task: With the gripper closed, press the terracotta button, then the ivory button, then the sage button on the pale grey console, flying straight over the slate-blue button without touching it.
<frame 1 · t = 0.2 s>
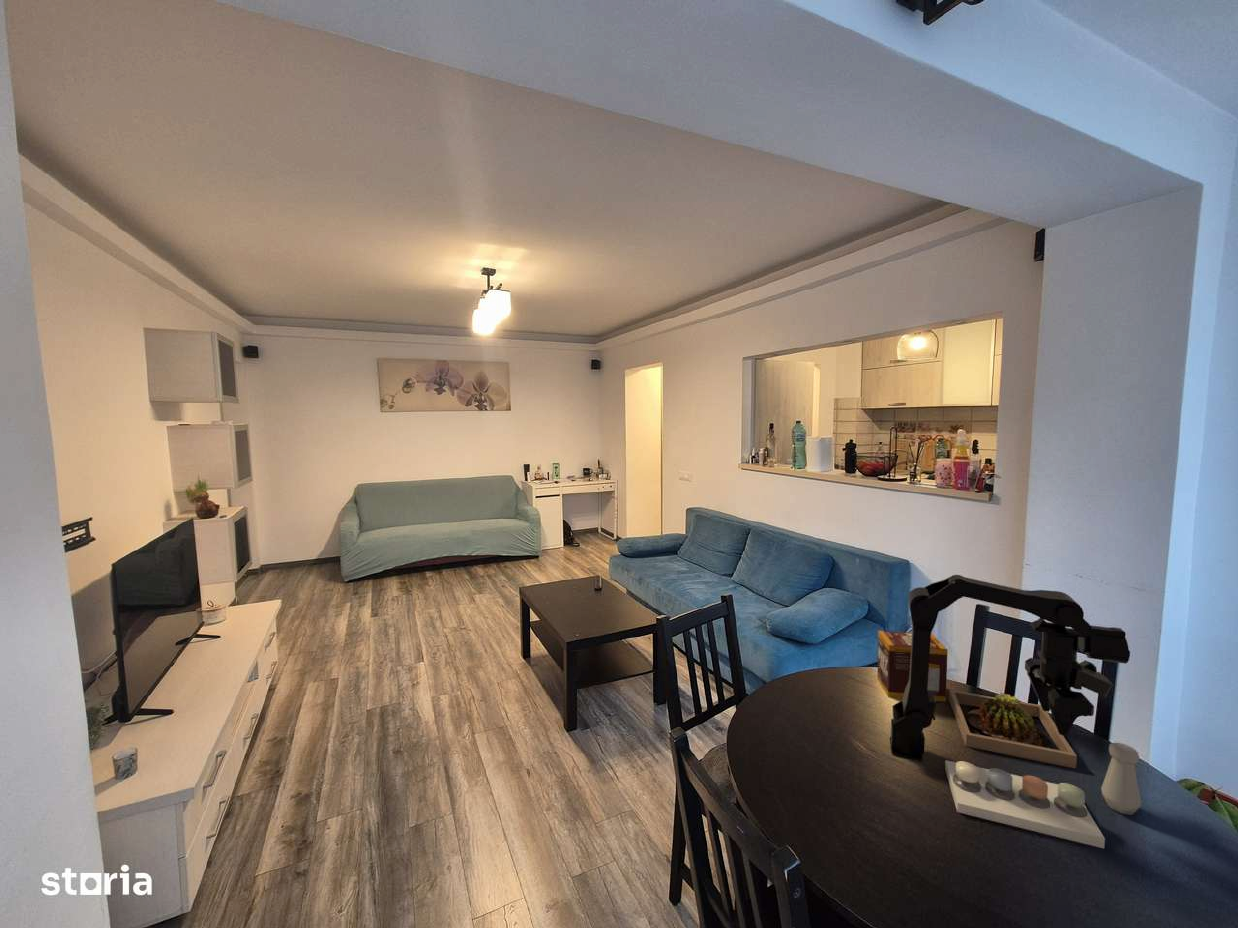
hand: (1054, 722, 109), 14 cm above the table, fingers open, 9 cm apart
planter tray: (1005, 730, 130), on the table
sage button: (1071, 794, 101), point 5 cm above the table, slide at 0.0 cm
terracotta button: (1034, 786, 104), point 5 cm above the table, slide at 0.0 cm
cactus: (1005, 731, 130), resting in planter tray
supplement box: (909, 690, 149), on the table
console: (1016, 804, 105), on the table
ivory button: (967, 771, 108), point 5 cm above the table, slide at 0.0 cm
salt shaker: (1120, 808, 104), on the table
slate button: (1000, 779, 106), point 5 cm above the table, slide at 0.0 cm
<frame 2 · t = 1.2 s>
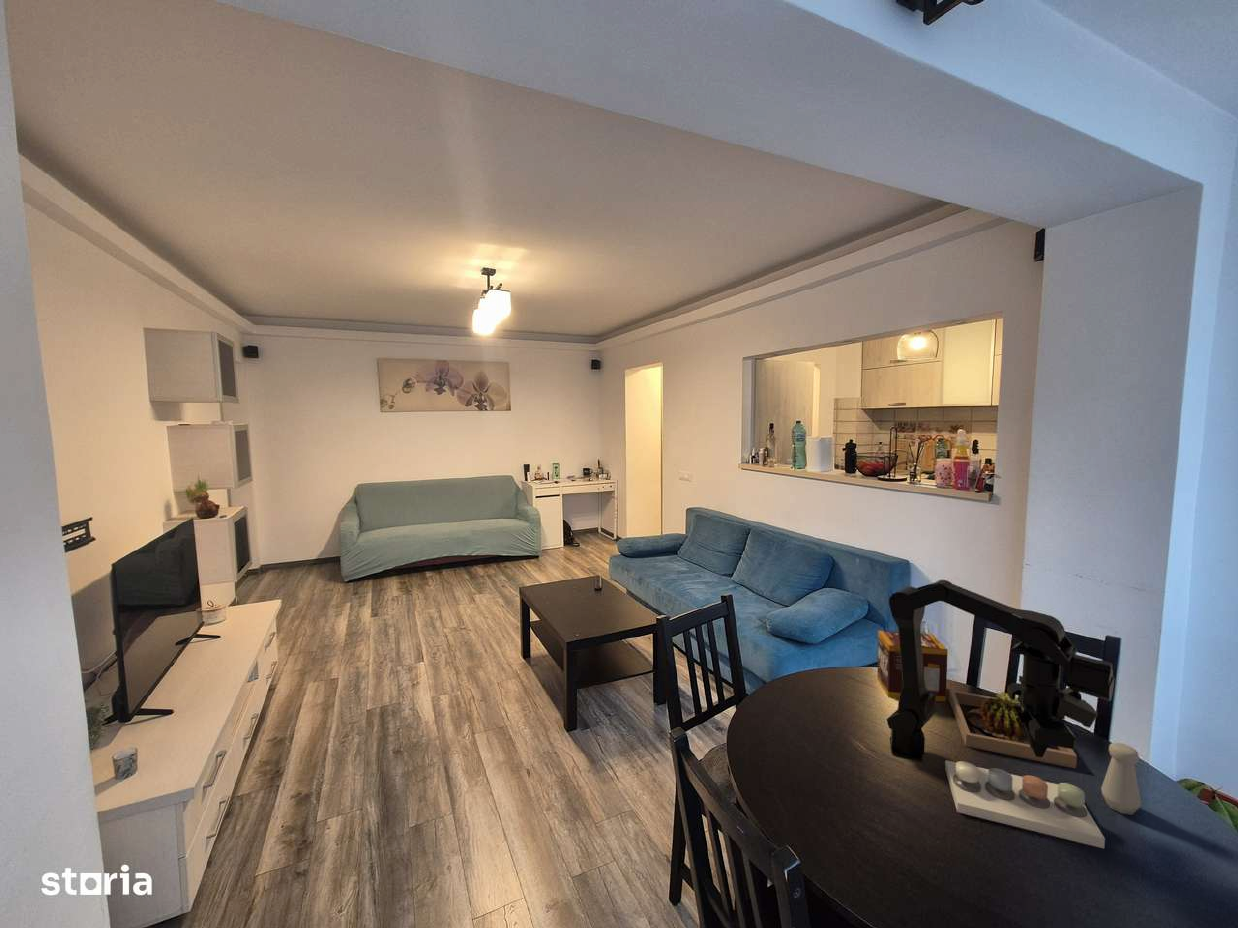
hand: (1036, 752, 103), 12 cm above the table, fingers closed
nothing on the table moved.
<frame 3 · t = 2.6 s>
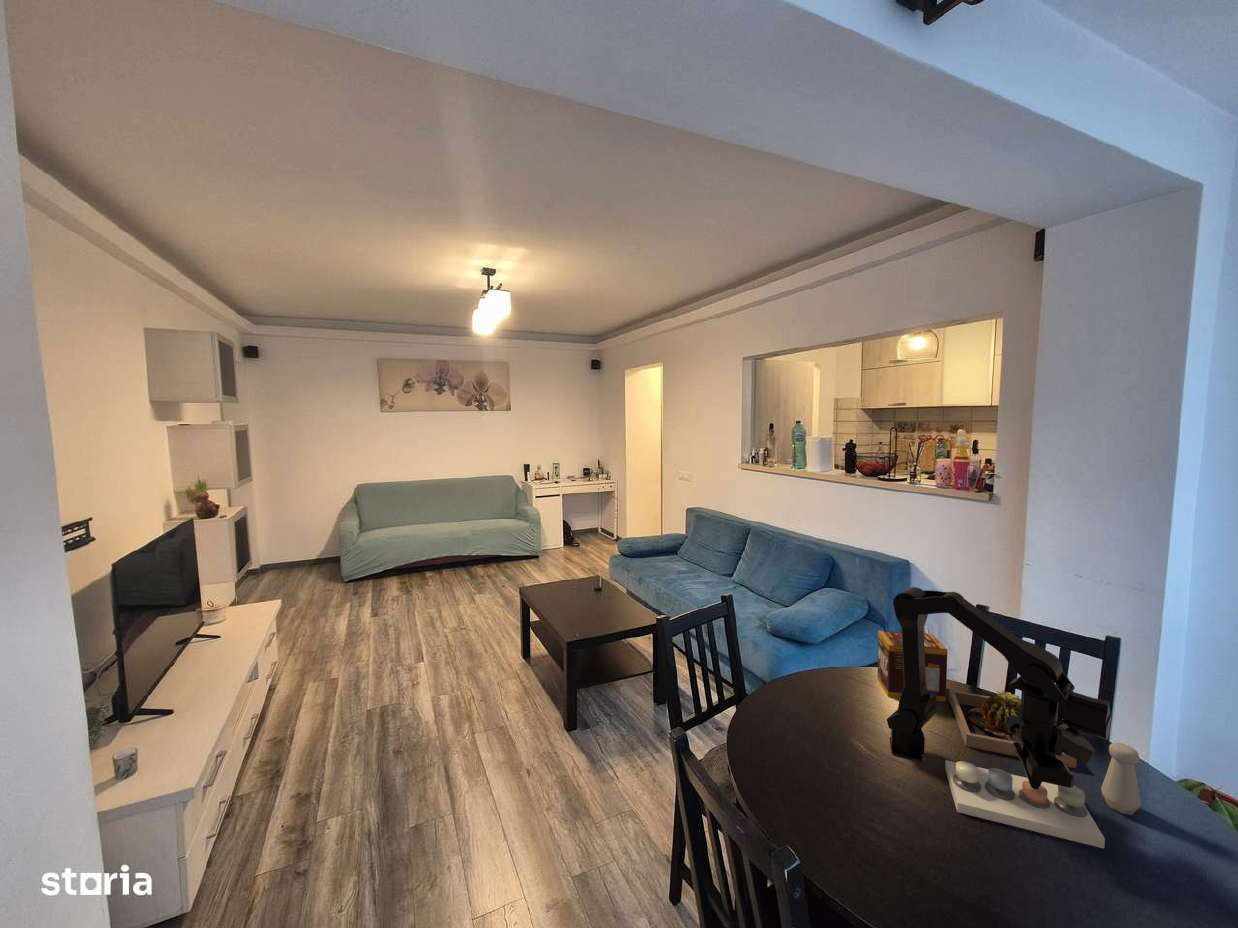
hand: (1034, 787, 104), 4 cm above the table, fingers closed, pressing on terracotta button
terracotta button: (1034, 792, 104), point 4 cm above the table, slide at -1.2 cm, touching gripper
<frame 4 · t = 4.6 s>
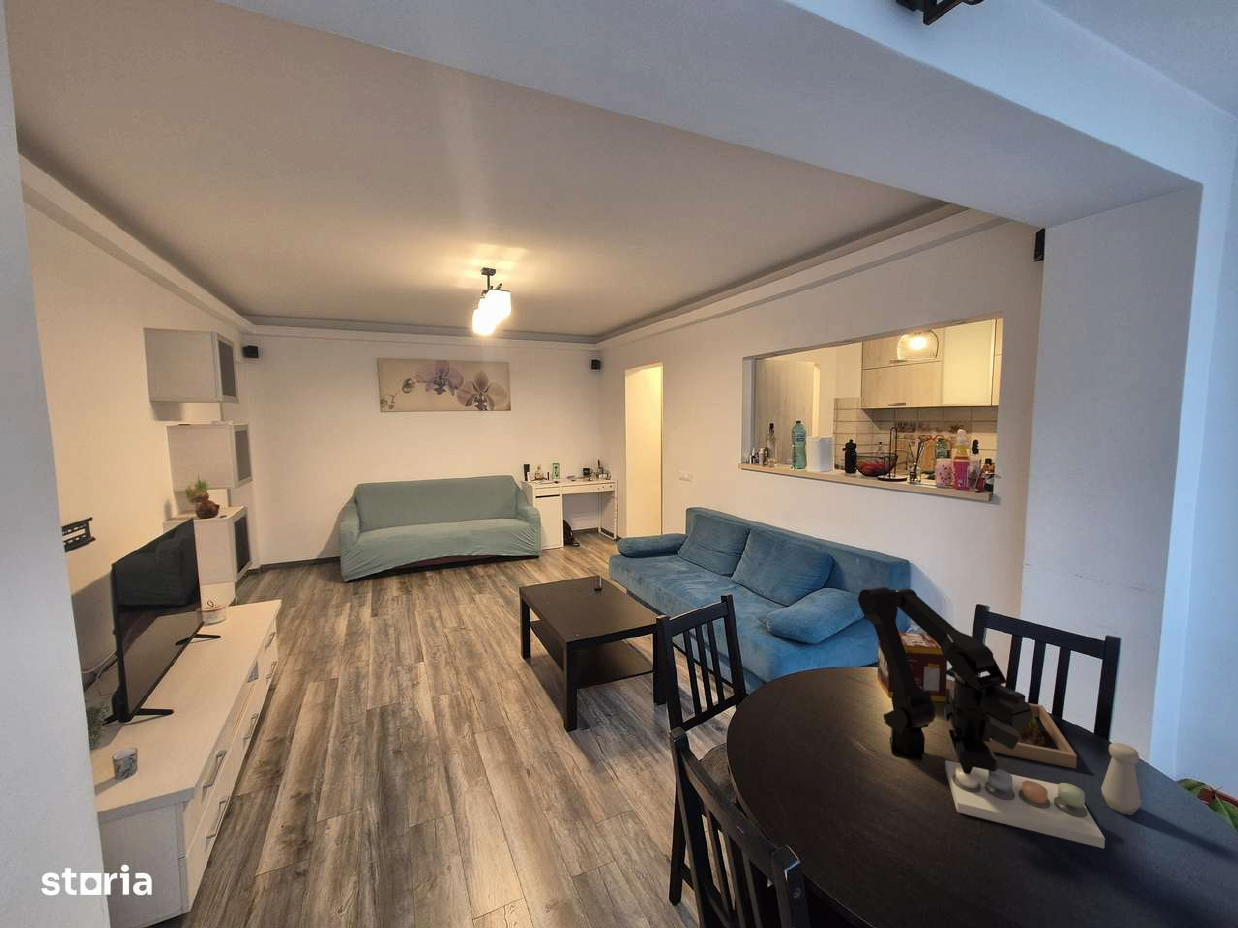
hand: (966, 772, 108), 4 cm above the table, fingers closed, pressing on ivory button
terracotta button: (1034, 792, 104), point 3 cm above the table, slide at -1.2 cm
ivory button: (966, 777, 108), point 3 cm above the table, slide at -1.2 cm, touching gripper
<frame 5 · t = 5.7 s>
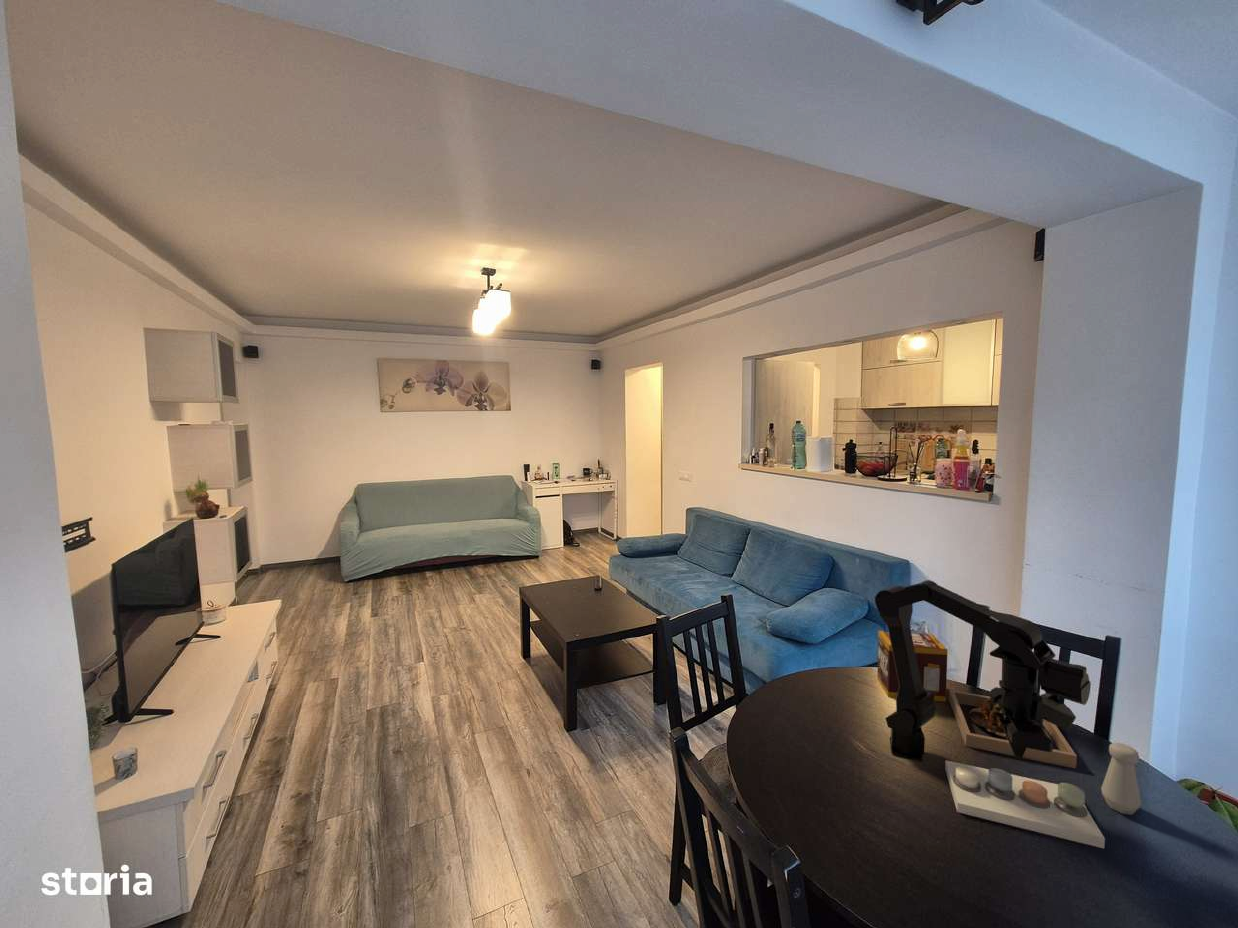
hand: (1018, 756, 104), 11 cm above the table, fingers closed
ivory button: (966, 777, 108), point 3 cm above the table, slide at -1.2 cm
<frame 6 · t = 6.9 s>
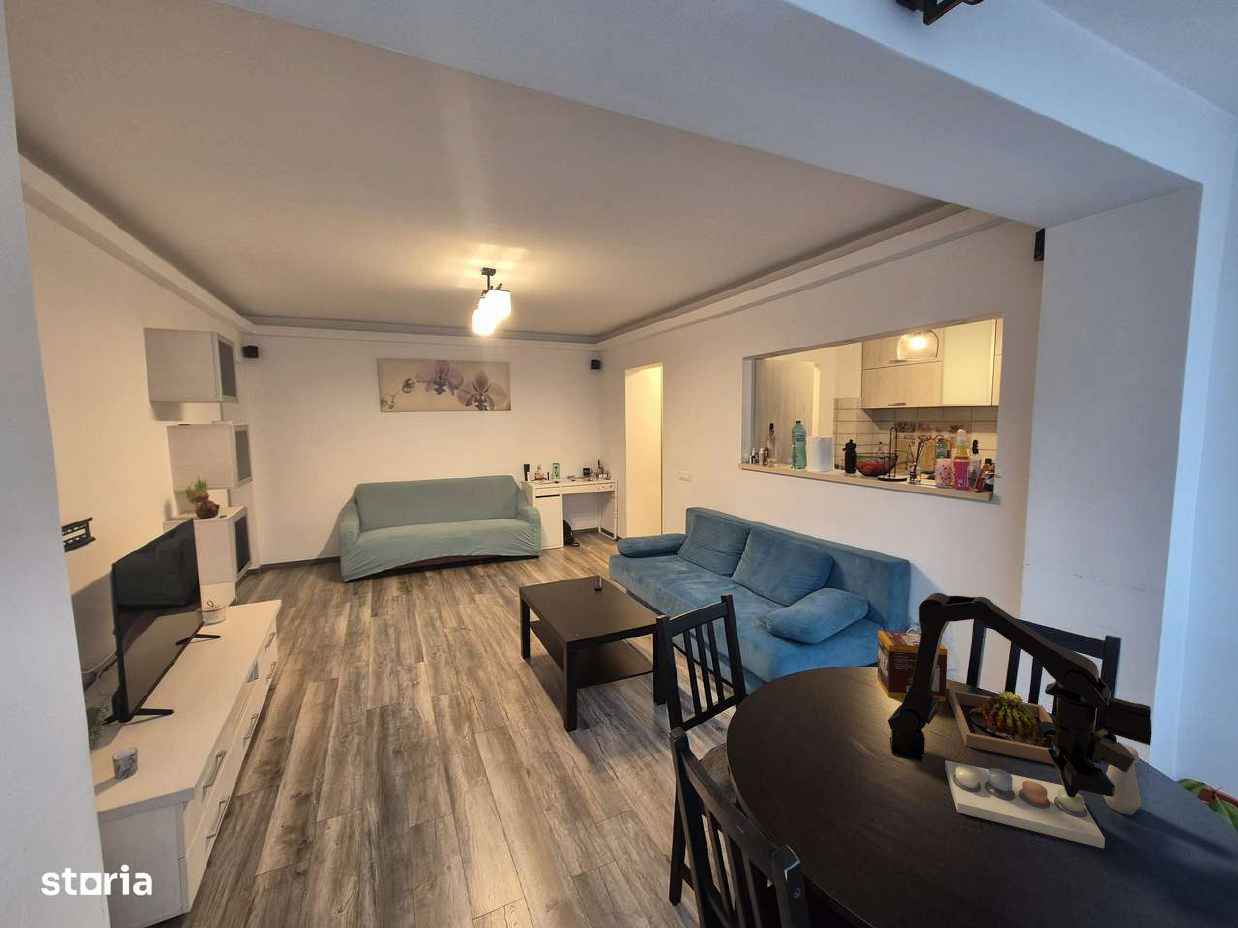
hand: (1070, 795, 101), 4 cm above the table, fingers closed, pressing on sage button
sage button: (1070, 800, 101), point 4 cm above the table, slide at -1.2 cm, touching gripper
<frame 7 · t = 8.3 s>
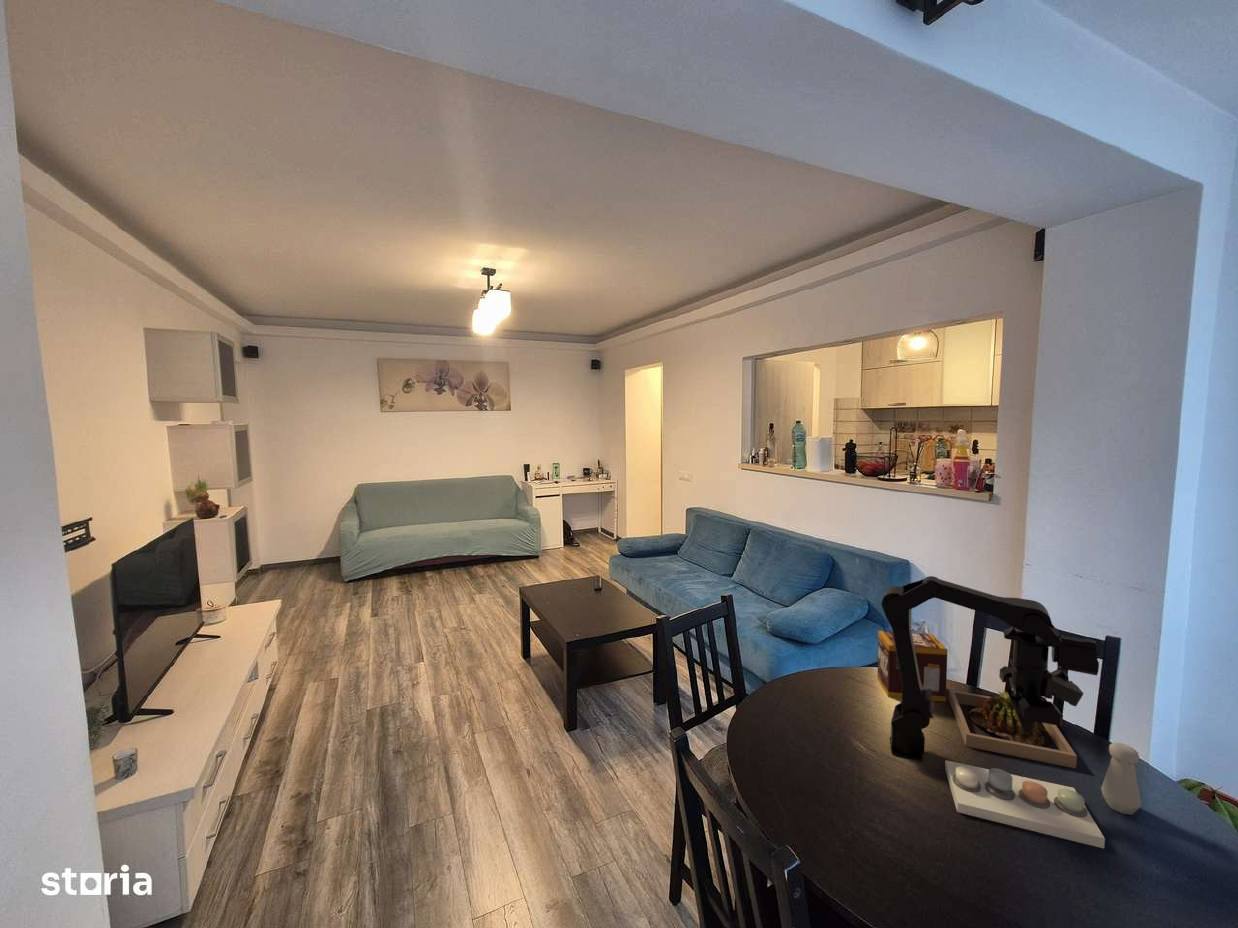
hand: (1026, 731, 109), 12 cm above the table, fingers closed
sage button: (1070, 800, 101), point 3 cm above the table, slide at -1.2 cm
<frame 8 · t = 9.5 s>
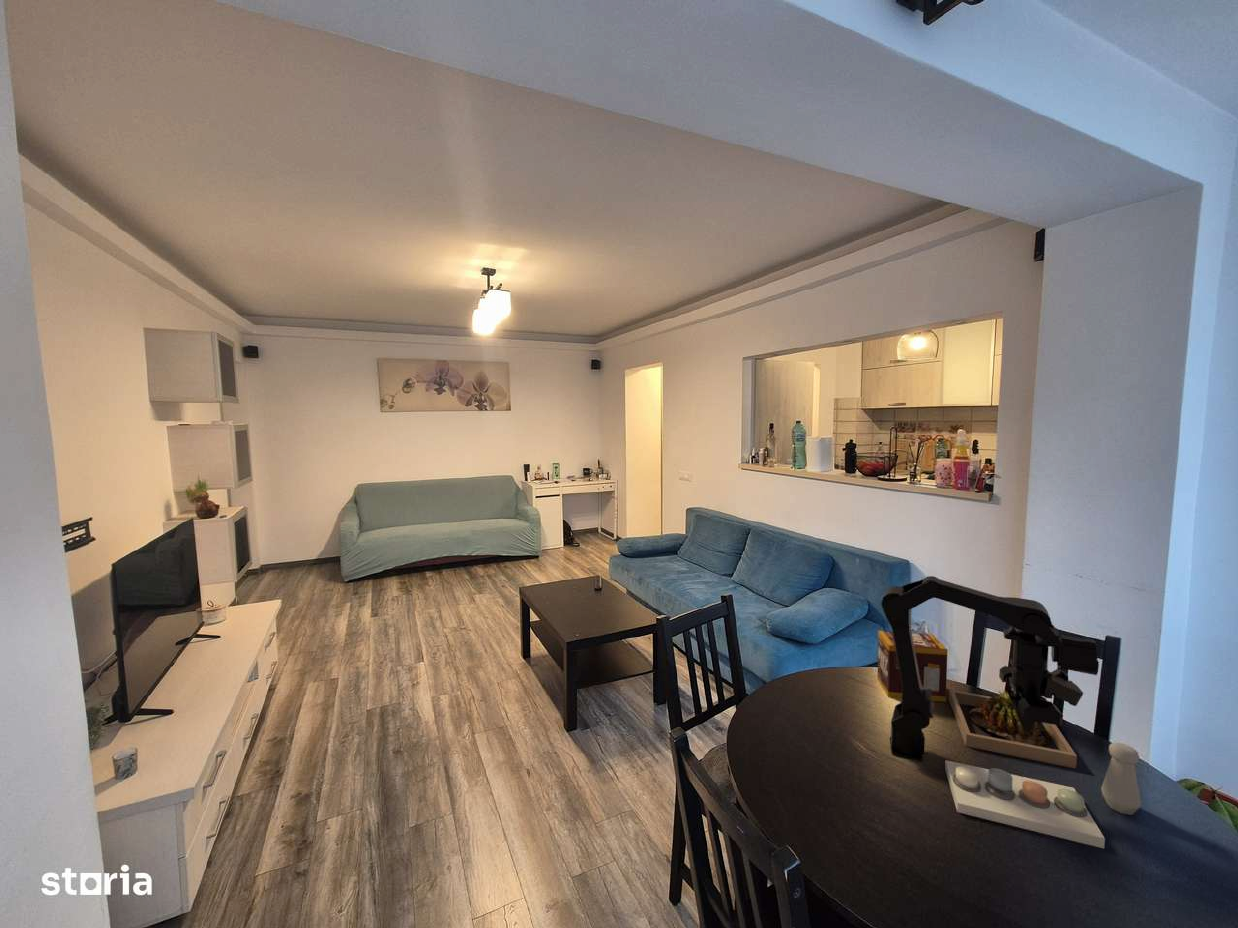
hand: (1026, 731, 109), 13 cm above the table, fingers closed
at the end: terracotta button slide at -1.2 cm; ivory button slide at -1.2 cm; sage button slide at -1.2 cm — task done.
